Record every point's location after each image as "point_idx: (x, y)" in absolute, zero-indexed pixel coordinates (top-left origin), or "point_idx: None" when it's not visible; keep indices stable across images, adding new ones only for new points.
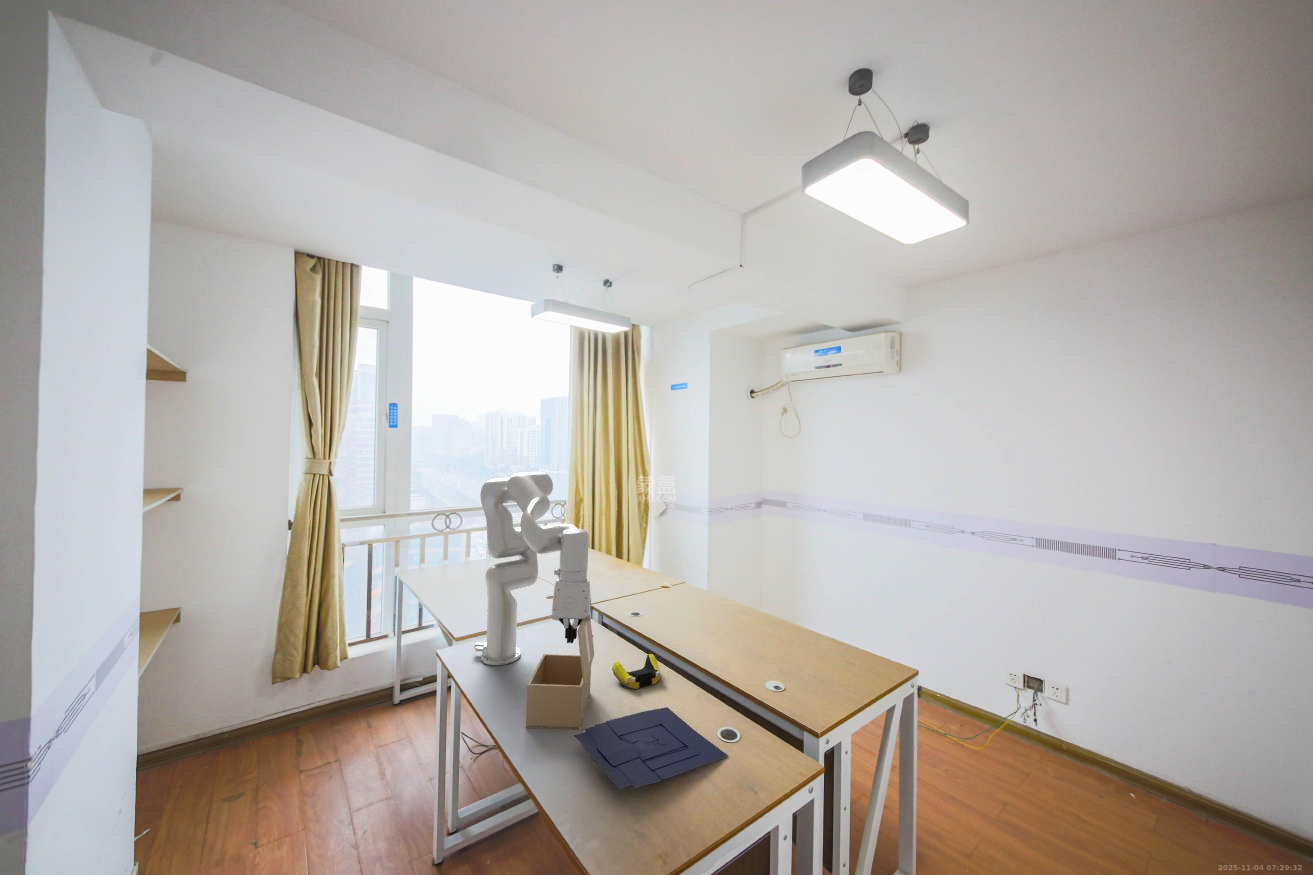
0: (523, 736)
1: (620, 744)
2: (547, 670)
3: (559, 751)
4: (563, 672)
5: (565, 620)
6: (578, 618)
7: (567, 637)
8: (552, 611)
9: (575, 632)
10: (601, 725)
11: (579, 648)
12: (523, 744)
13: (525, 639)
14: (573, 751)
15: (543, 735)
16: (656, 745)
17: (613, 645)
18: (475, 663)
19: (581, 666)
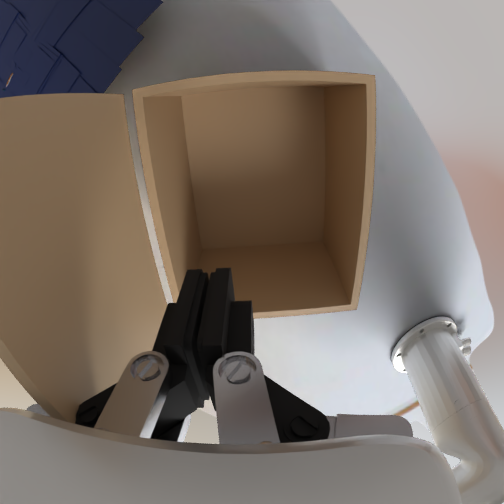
0: (322, 48)
1: (55, 29)
2: (328, 273)
3: (208, 6)
4: (275, 273)
5: (246, 423)
6: (41, 420)
7: (223, 290)
8: (458, 494)
9: (162, 334)
10: (105, 77)
11: (42, 94)
12: (310, 20)
13: (382, 394)
14: (172, 13)
15: (270, 53)
16: (4, 71)
17: (209, 404)
18: (462, 315)
19: (95, 93)
